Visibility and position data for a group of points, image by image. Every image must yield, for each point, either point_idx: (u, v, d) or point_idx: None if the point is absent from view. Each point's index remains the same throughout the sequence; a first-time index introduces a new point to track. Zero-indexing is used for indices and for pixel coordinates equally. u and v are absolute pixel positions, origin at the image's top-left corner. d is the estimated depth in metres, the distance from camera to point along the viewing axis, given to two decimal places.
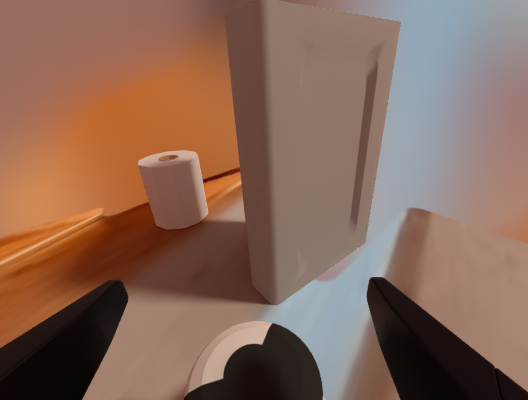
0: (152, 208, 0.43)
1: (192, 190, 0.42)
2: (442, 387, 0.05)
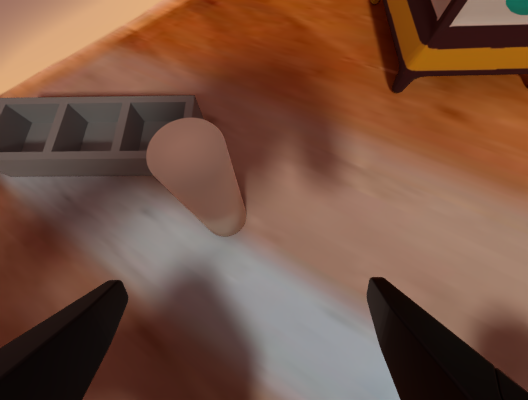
0: None
1: None
2: (442, 387, 0.05)
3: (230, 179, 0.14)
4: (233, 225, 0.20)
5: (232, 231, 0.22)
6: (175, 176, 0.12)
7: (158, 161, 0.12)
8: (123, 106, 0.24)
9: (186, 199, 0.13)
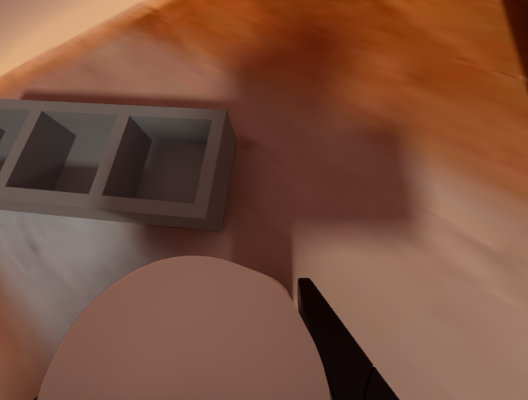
0: None
1: None
2: None
3: None
4: None
5: None
6: None
7: None
8: (118, 121, 0.15)
9: None
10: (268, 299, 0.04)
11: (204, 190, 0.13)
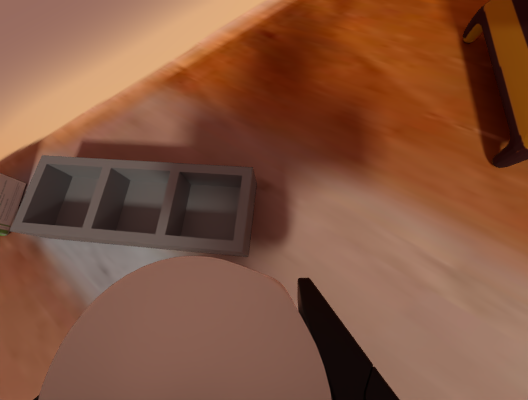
0: None
1: None
2: None
3: None
4: None
5: None
6: None
7: None
8: (171, 176, 0.21)
9: None
10: (269, 299, 0.04)
11: (240, 230, 0.19)
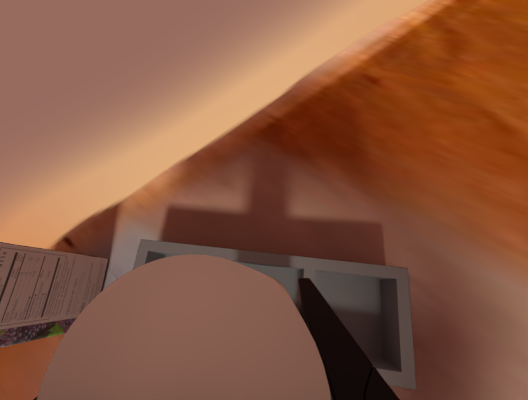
0: None
1: None
2: None
3: None
4: None
5: None
6: None
7: None
8: (306, 275, 0.17)
9: None
10: (268, 298, 0.04)
11: (408, 357, 0.15)
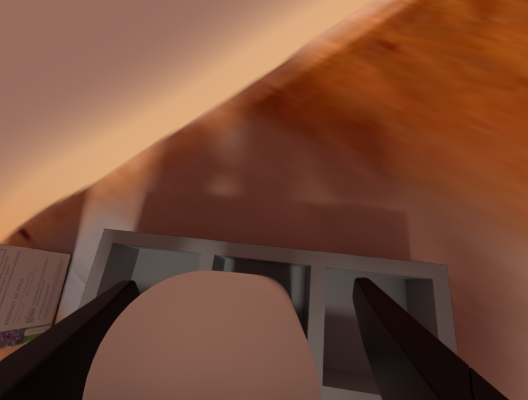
0: None
1: None
2: (417, 387, 0.05)
3: None
4: None
5: None
6: None
7: None
8: (314, 274, 0.13)
9: None
10: (270, 307, 0.04)
11: None
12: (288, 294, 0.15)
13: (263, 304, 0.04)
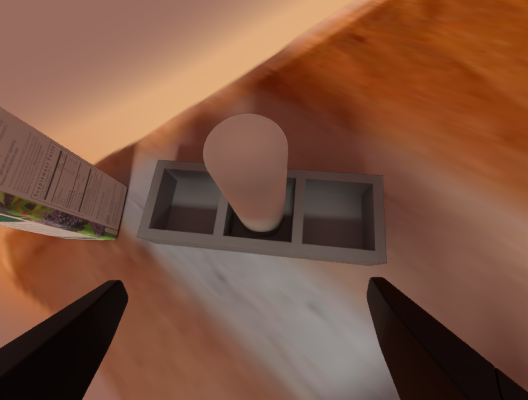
0: None
1: None
2: (442, 387, 0.05)
3: (284, 182, 0.13)
4: (273, 226, 0.19)
5: (270, 232, 0.21)
6: (232, 177, 0.11)
7: (215, 159, 0.11)
8: (298, 183, 0.20)
9: (238, 200, 0.12)
10: (270, 123, 0.12)
11: (380, 240, 0.18)
12: None
13: (267, 122, 0.12)
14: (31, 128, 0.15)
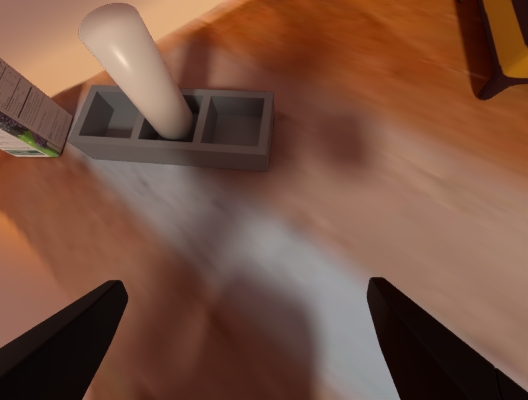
0: None
1: None
2: (442, 387, 0.05)
3: (153, 63, 0.17)
4: (179, 131, 0.23)
5: None
6: (95, 41, 0.15)
7: (86, 31, 0.15)
8: (204, 99, 0.24)
9: (113, 71, 0.16)
10: (131, 8, 0.16)
11: (263, 139, 0.22)
12: (196, 122, 0.26)
13: (129, 7, 0.16)
14: None
